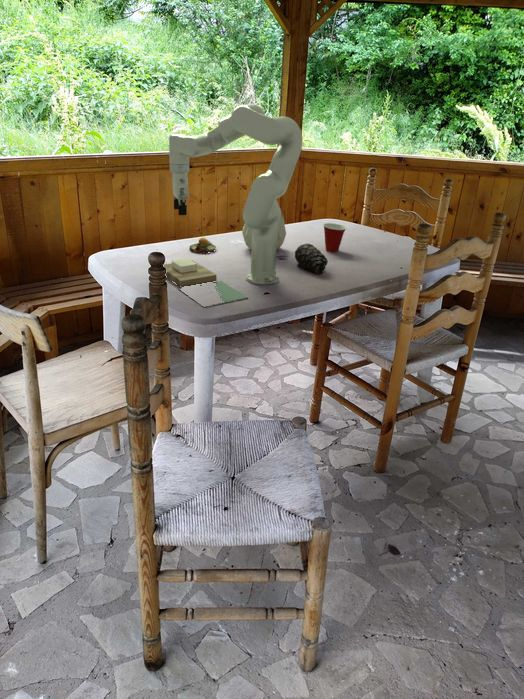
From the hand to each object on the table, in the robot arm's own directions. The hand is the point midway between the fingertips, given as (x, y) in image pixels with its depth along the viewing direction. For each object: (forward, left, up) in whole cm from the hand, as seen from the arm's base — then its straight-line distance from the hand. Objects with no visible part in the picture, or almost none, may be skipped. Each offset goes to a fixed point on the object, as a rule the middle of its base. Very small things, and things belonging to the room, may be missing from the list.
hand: (180, 212), depth 222 cm
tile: (-14, +6, -18) cm, 24 cm away
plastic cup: (-15, -70, -22) cm, 75 cm away
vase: (+1, -42, -22) cm, 47 cm away
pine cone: (-32, -45, -22) cm, 59 cm away
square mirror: (-37, +6, -21) cm, 43 cm away
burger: (+13, -17, -22) cm, 30 cm away
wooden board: (-16, +6, -21) cm, 28 cm away
